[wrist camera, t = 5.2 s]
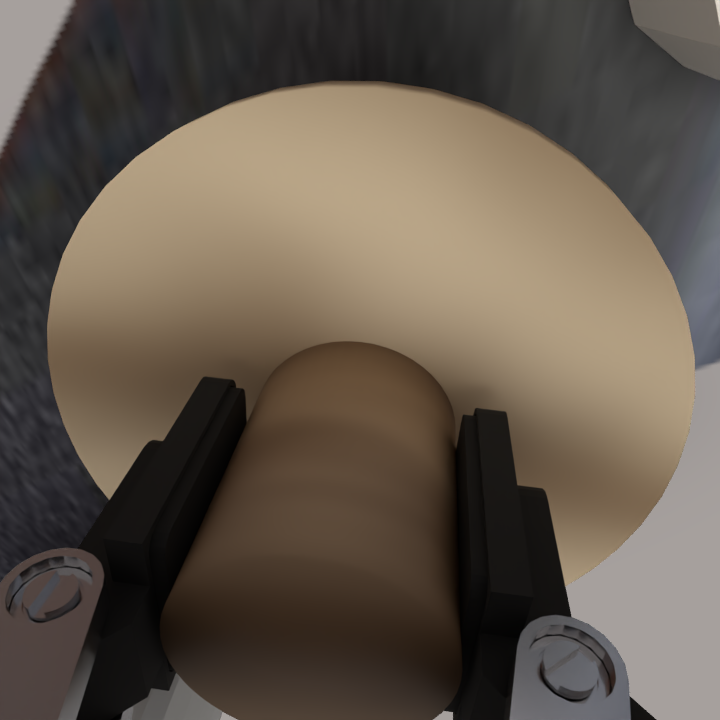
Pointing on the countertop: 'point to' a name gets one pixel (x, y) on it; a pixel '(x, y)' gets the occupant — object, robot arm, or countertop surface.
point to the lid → (365, 373)
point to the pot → (683, 30)
